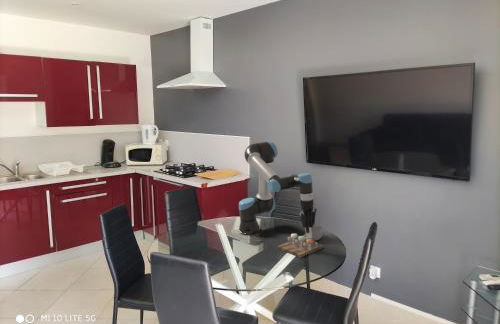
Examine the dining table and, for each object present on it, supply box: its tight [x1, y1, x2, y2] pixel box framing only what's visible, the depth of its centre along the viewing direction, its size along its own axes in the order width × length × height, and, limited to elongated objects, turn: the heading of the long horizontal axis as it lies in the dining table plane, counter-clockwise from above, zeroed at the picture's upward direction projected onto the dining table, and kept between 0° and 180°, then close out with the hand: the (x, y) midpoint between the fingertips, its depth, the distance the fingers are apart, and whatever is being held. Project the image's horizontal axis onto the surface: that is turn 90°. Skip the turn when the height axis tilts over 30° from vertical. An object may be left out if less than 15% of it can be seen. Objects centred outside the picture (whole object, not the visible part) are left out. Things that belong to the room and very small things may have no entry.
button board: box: [277, 235, 324, 258], centre depth 228 cm, size 20×19×5 cm
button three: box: [306, 238, 313, 245], centre depth 223 cm, size 4×4×3 cm
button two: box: [298, 235, 306, 242], centre depth 229 cm, size 4×4×3 cm
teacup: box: [304, 224, 323, 242], centre depth 242 cm, size 14×11×8 cm
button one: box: [290, 233, 298, 239], centre depth 234 cm, size 4×4×3 cm
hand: (309, 237), depth 222 cm, fingers closed
